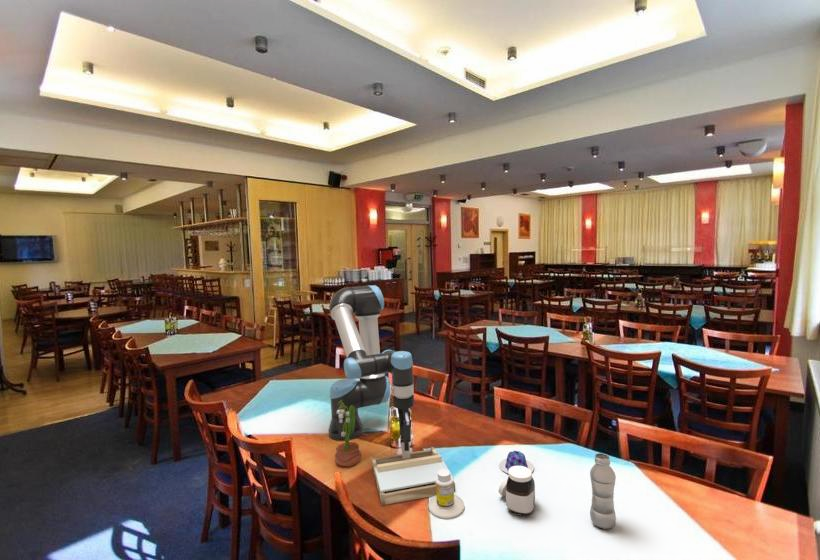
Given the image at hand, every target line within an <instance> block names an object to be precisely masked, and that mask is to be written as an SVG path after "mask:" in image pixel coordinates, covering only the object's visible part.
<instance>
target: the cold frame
mask: <svg viewBox="0 0 820 560" xmlns="http://www.w3.org/2000/svg"><path fill="white" fill-rule="evenodd" d="M434 455H439V453H438V451H437V450H436V449H435V446H430V449H425V450H418V451H410V458H406V459H403V457H402V453H400V454H394V455H387V456H381V457H376V456H374V455H373V456H371V457H370V458H371V466H372V470H373V471H372V472H373V474H374V478H375V482H376V483H375V484H376V487H377V492H378V494H379V495H378V496H379V499H380V503H381V506H386V505H387V506H388V505H392V504H396V503H402V502H403V503H404V502H409V501H413V500H419V499H424V498H429V497H434V496H435V495H436V483H434V484H430V485H429V484H428V485H425V486H424V485H423V486H417V487H412V488H409V489H407V488H406V489H400V490H395V491H389V492H386V493H385V492H380V488H379V484H378V480H377V476H376V472H375V470H377V465H378V464H385V463H391V462H397V461H403V460H409V459H415V458H421V457H427V456H434ZM453 483H454V493H456V483H455V481H454V480H453Z"/></svg>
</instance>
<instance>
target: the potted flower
mask: <svg viewBox="0 0 820 560" xmlns="http://www.w3.org/2000/svg"><path fill="white" fill-rule="evenodd" d="M341 401H342V400H341ZM341 401H340V402H341ZM338 404H339V403H338ZM341 405H342V407H344V409H341ZM345 407H347V406H345V405H344V403H343V402H342V403H341V404H340V409H338V410H337V413H338V414H339V419H340V420H339V423H342V421H343V420H342V418H344V417H343V415H344V414H345V415H344V416H345V423H344V425H343V428H344V431H343V432H342V433H341V435H342V436H343V437H344V436H345V440H344V442H343V443H340V444H338V445H337V447H336V448H335V450H336V453H335V456H334V461H335V463H336V464H337V465H339V466H341V467H351V466H354V465H356V464H358V463H359V461H360V460H361V458H362V453H361V450H360V444H358V443H357V442H354V441H350V440H351V439H350V436H351V434H352V432H353V430H354V424H355V410H354V406H353V405H351V406H350V407H349V410H348V408H347V412H346V409H345ZM337 413H336V414H337ZM343 413H344V414H343Z"/></svg>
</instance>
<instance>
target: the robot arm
mask: <svg viewBox="0 0 820 560" xmlns="http://www.w3.org/2000/svg"><path fill="white" fill-rule="evenodd" d="M328 307H329V309H328V311H329V314H330V315H329V316H330V317H331V319H332V320H334V322H335V326H336V328H337V331H338V334H339V337H340V341H341V345H342V347H343V350H344V353H345V355H346V358H345V359H344V361H343V369H344V375H345V378H343V379H338V380H337V381H335V382H334V383H332V384H331V386H330V388H329V393H330V394H329V398H330V410H331V418H330V419H331V420H330V422H329V423H330V424H329V427H328V436H329V438H330V439H332V440H334V441H341V442H342V441H345V436H344V437H343V436H342V435H341V433H342V432H343V431H344V428H343V425H344V423H345V416H344V415H345V414H344V413H343V414H344V415H343V417H344V418H342V420H343V421H342V423H339V420H340V419H339V414H338V413H337V410H338V409H340V404H341V403H342V402H343V403H344V405H345V406H347V407H345V409H346V412H347V408H348V410H349V407H350V406H351V405H353V406H354V410H355V424H354V430H353V432H352V434H351V436H350V440H354V439H356V438H359V437H360V436H361V435H362V434H363V433H364V426H363V423H362V420H361V418H360V416H359V409H361V408H364V407H371V406H376V405H378V406H379V405H381V404H385V403H387V402H388V401H389V399H390V396H391V391H392V395H393V396H392V401H393V407H394V408H395V409H397V414H398V422H399V423H398V424H399V435H400V438H401V440H400V443H401V454H402V457H403V459H406V458H410V453H411V442H412V419H411V416H412V414H411V411H410V408H412V407H414V405H415V396H414V394H415V391H414V389H415V388H414V370H413V367H414V366H413V365H414V362H413V357H412V353H411V352H409V351H405V350H400V351H399V350H398V351H396V350H392V349H386V350H384V351H382V352H381V348H380V347H381V346H380V335H379V322H378V318H379V317H380V316H381V311H383V310H384V308H385V299H384V295H383V293H382V290H381V288H380V287H379V286H377V285H363V286H362V285H361V286H360V285H359V286H351V287H350V286H347V287H343V288H341V289H339V290H338V291H336V292H335V293H334V294H333V296H332V297H331V300H330V302H329V306H328ZM353 314H354V316H353ZM354 317H355V318H356V319H357V320H358V326H357V324H356V321H355V319H354ZM358 329H359V330H358ZM389 373H390V374H391V379H392V382H391V381H390V378H389V376H387V375H386V374H389ZM356 379H359V380H356ZM390 382H391V383H392V386H391V383H390ZM341 400H342V401H341ZM340 401H341V402H340ZM338 403H339V404H338ZM341 409H344V407H342V405H341ZM336 413H337V414H336Z"/></svg>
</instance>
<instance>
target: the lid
mask: <svg viewBox="0 0 820 560" xmlns="http://www.w3.org/2000/svg"><path fill="white" fill-rule="evenodd" d="M441 469H447V470H449V468H448V466H447V465H446V462H445V461H444V459H443V458H442V455H441V454H438V455H434V456H427V457H421V458H415V459H409V460H403V461H397V462H391V463H384V464H378V465H377V470H375V472H376V476H377V480H378V484H379V488H380V492H384V493H385V492H386V493H387V492H393V491H398V490H404V489H407V488H409V489H410V488H415V487H421V486H424V485H425V486H426V485H429V484H430V485H432V484H436V483H435V479H436V477H437V475H438V471H439V470H441ZM450 475H451V477H452V478H453V479H454V477H453V475H452V473H451V472H450Z"/></svg>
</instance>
